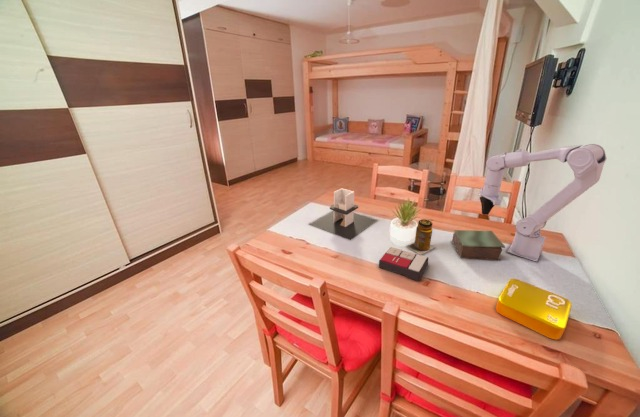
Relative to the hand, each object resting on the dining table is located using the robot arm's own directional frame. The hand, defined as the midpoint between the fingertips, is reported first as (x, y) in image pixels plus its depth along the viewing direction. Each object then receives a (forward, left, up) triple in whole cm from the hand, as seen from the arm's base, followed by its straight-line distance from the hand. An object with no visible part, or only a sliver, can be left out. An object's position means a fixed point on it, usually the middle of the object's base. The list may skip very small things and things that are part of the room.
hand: (485, 214), depth 112 cm
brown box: (-2, +15, -10) cm, 18 cm away
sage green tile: (-2, +15, -5) cm, 16 cm away
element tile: (-24, +38, -11) cm, 46 cm away
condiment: (+15, +27, -11) cm, 33 cm away
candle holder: (+54, +30, -11) cm, 63 cm away
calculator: (+14, +43, -11) cm, 47 cm away
